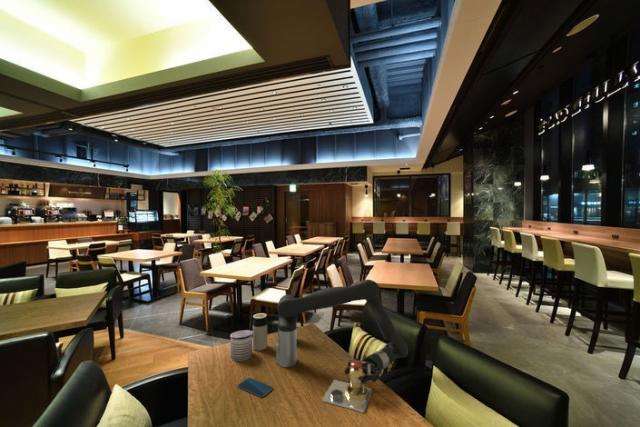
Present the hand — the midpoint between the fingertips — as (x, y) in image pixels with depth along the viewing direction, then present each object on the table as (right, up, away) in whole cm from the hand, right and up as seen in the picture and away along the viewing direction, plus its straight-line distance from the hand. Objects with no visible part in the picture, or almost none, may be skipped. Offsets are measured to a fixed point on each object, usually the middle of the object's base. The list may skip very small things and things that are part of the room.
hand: (353, 376), depth 112 cm
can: (-55, -9, +33) cm, 65 cm away
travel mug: (-47, -9, +42) cm, 64 cm away
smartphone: (-41, -9, +6) cm, 43 cm away
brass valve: (+1, -8, +1) cm, 8 cm away
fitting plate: (-2, -8, +1) cm, 9 cm away
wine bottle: (-33, -9, +51) cm, 61 cm away
